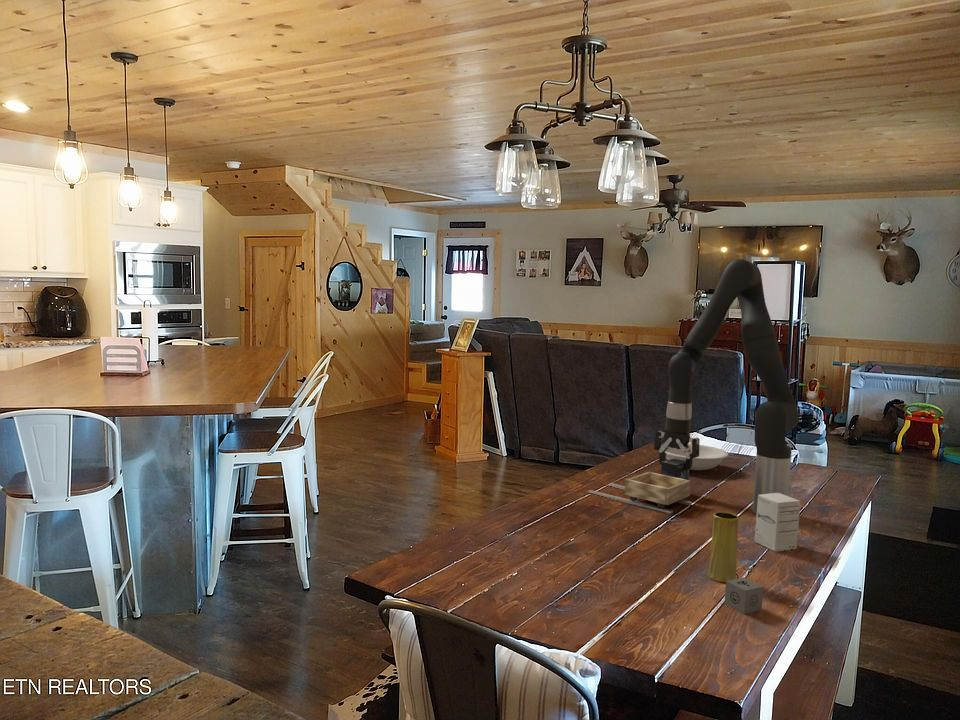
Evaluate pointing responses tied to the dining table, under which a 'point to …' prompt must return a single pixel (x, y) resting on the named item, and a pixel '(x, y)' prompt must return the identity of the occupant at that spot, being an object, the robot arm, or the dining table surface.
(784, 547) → the supplement box
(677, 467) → the box
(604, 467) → the dining table surface
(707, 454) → the soup bowl
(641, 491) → the light wooden open box
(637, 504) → the rails
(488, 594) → the dining table surface
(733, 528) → the vase
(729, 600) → the grey cube
